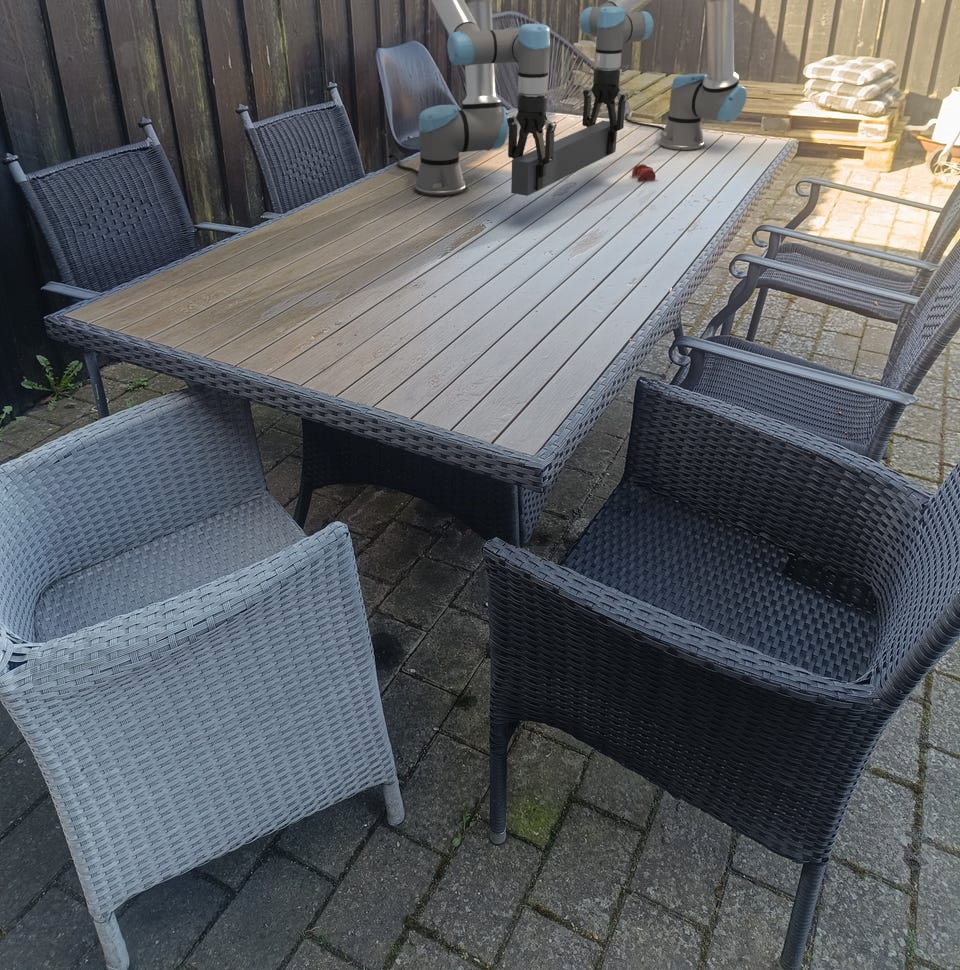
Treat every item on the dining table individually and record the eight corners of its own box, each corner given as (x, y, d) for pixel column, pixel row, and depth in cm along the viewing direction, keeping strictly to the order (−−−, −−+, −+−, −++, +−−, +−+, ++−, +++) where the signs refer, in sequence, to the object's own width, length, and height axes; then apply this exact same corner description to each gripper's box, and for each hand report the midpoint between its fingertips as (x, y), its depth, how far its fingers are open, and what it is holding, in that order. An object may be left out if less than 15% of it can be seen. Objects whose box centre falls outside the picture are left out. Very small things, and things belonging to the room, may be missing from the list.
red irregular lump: (647, 160, 269) (657, 167, 263) (646, 174, 272) (656, 181, 265) (631, 162, 268) (641, 169, 262) (630, 176, 271) (640, 183, 264)
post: (527, 196, 222) (528, 162, 217) (511, 192, 224) (511, 159, 219) (615, 152, 259) (618, 122, 254) (600, 149, 261) (602, 120, 256)
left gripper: (571, 95, 212) (565, 189, 225) (509, 87, 220) (508, 178, 233) (556, 100, 207) (552, 196, 220) (494, 92, 214) (493, 185, 228)
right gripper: (641, 69, 241) (633, 154, 255) (585, 63, 249) (579, 145, 263) (630, 73, 236) (622, 159, 250) (573, 67, 244) (568, 151, 258)
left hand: (529, 187), depth 227 cm, fingers closed on post, 5 cm apart
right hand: (600, 152), depth 256 cm, fingers closed on post, 5 cm apart
